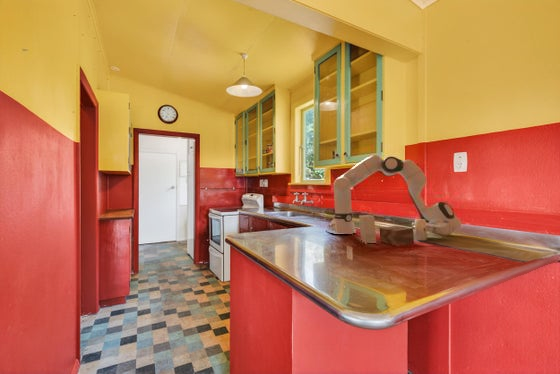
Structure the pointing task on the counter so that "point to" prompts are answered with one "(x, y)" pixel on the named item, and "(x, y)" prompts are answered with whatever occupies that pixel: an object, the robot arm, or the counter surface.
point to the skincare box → (367, 228)
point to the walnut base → (397, 235)
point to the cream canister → (420, 229)
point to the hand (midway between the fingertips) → (419, 228)
